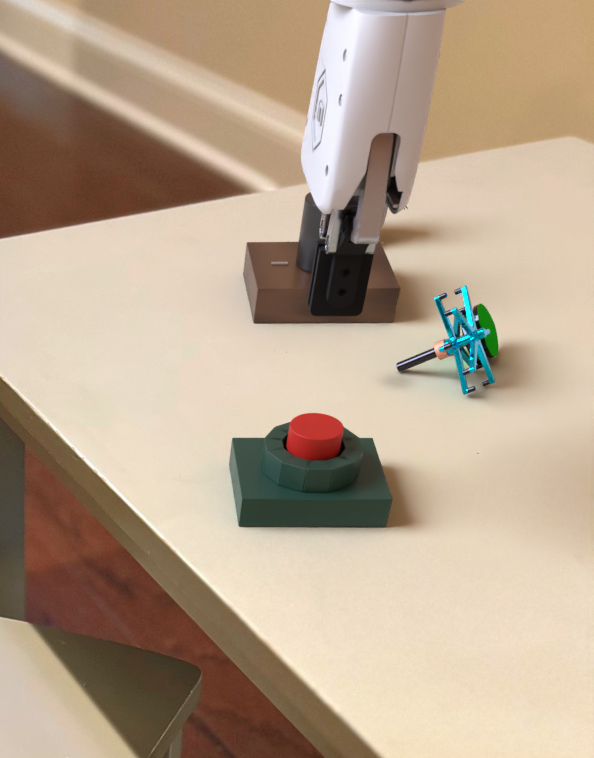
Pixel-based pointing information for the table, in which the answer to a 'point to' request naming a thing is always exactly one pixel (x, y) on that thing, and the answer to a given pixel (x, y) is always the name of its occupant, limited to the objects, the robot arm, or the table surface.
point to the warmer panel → (291, 285)
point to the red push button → (315, 436)
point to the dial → (308, 234)
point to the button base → (308, 484)
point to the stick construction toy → (463, 340)
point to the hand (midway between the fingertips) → (333, 309)
